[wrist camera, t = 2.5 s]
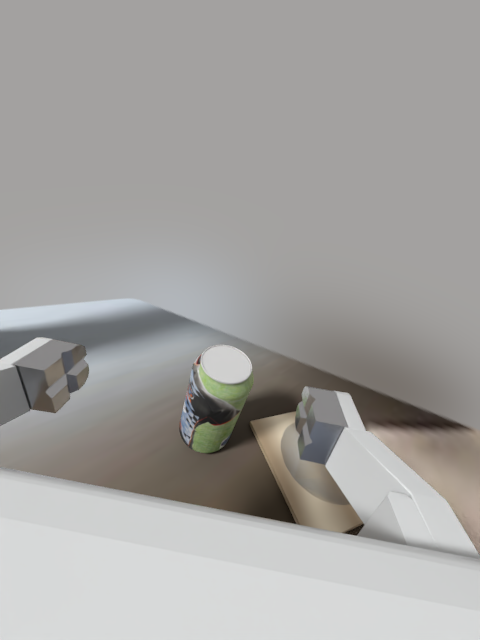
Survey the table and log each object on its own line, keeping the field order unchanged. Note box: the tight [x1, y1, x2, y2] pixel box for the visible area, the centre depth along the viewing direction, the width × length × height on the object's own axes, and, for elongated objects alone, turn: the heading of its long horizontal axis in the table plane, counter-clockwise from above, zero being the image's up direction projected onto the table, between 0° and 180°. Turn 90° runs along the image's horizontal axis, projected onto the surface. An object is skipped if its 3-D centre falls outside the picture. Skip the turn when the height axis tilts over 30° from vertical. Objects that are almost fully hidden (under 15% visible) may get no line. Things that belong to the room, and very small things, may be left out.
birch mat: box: [250, 411, 364, 533], centre depth 28 cm, size 13×13×1 cm
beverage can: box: [179, 345, 253, 453], centre depth 26 cm, size 6×7×12 cm
